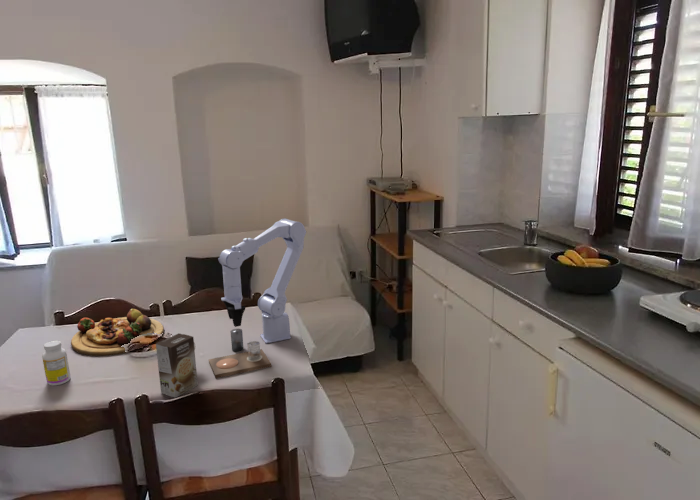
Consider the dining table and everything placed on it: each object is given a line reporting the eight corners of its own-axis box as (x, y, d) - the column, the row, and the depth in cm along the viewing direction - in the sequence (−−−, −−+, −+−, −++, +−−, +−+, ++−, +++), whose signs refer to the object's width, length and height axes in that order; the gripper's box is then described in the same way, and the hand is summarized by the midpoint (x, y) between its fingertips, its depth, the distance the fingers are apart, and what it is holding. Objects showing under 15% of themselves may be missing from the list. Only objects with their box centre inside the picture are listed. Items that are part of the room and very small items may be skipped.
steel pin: (242, 346, 194) (240, 327, 192) (244, 350, 191) (243, 331, 189) (230, 348, 193) (229, 329, 191) (233, 352, 189) (231, 334, 187)
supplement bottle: (52, 376, 175) (46, 339, 172) (74, 375, 176) (68, 338, 172) (43, 387, 169) (36, 348, 165) (65, 385, 169) (58, 347, 166)
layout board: (261, 352, 189) (260, 335, 187) (271, 366, 178) (270, 348, 177) (208, 362, 182) (207, 344, 180) (215, 378, 171) (213, 359, 170)
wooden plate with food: (51, 349, 196) (47, 327, 194) (118, 316, 224) (116, 297, 222) (119, 365, 184) (116, 342, 182) (181, 328, 213) (179, 308, 210)
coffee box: (175, 398, 160) (169, 348, 156) (160, 393, 163) (154, 343, 159) (198, 384, 168) (193, 336, 164) (183, 380, 171) (178, 332, 167)
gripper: (216, 280, 190) (219, 317, 194) (224, 292, 178) (227, 331, 181) (236, 277, 193) (239, 313, 197) (246, 289, 180) (248, 328, 184)
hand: (235, 322), depth 189 cm, fingers open, 7 cm apart
